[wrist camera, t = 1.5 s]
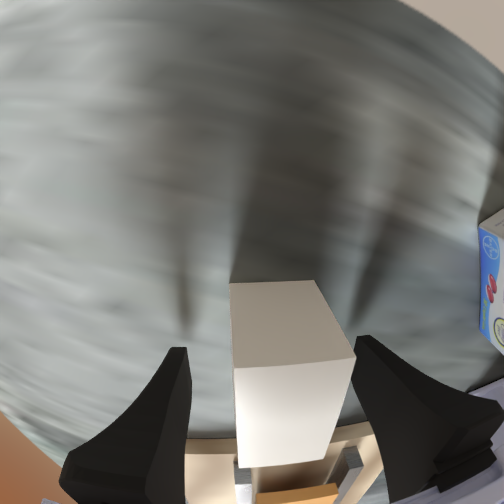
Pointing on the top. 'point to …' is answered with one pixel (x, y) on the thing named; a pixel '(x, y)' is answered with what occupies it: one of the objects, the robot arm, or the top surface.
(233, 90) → the top surface
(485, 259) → the medicine box
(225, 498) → the rail board
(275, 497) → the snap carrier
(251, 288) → the block
